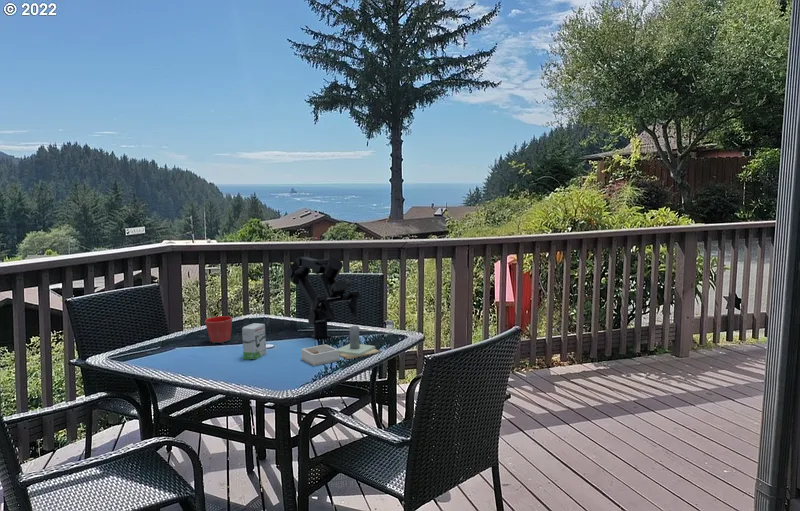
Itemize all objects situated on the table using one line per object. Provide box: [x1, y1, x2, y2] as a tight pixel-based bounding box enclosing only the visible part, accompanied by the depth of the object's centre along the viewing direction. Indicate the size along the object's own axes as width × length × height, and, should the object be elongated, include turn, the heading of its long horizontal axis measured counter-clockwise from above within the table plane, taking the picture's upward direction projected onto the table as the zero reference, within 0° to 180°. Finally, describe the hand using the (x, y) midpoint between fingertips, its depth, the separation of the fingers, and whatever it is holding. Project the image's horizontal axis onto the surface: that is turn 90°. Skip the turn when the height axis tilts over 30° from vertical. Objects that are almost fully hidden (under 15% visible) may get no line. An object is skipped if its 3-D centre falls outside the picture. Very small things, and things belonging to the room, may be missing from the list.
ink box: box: [241, 322, 267, 361], centre depth 219 cm, size 9×5×12 cm, turn 162°
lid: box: [336, 325, 376, 356], centre depth 221 cm, size 11×11×9 cm
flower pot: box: [204, 315, 233, 342], centre depth 241 cm, size 11×11×10 cm
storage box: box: [300, 344, 340, 367], centre depth 212 cm, size 10×10×4 cm
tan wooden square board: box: [336, 343, 382, 360], centre depth 221 cm, size 14×14×1 cm
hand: (345, 317), depth 226 cm, fingers open, 9 cm apart
